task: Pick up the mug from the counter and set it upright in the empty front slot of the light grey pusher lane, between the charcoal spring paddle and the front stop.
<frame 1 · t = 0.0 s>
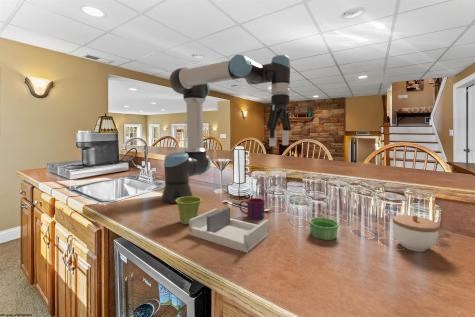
hand: (279, 145, 99), 28 cm above the counter, tool pointing down, fingers open, 13 cm apart
plant pot: (189, 222, 87), on the counter
lidded jar: (412, 247, 68), on the counter
pusher lane: (228, 234, 76), on the counter
spring paddle: (219, 220, 78), point 4 cm above the counter, slide at 0.0 cm
ramekin: (323, 235, 76), on the counter
mug: (252, 217, 93), on the counter
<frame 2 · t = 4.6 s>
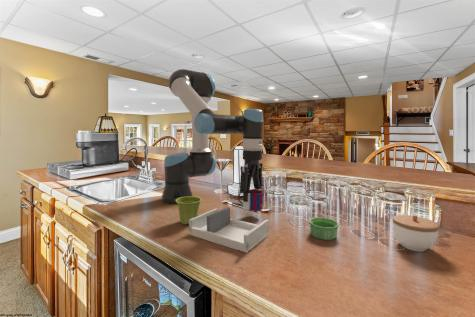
hand: (251, 206, 93), 4 cm above the counter, tool pointing down, fingers closed on mug, 7 cm apart
mug: (250, 208, 93), point 3 cm above the counter, touching gripper
everything else where it was.
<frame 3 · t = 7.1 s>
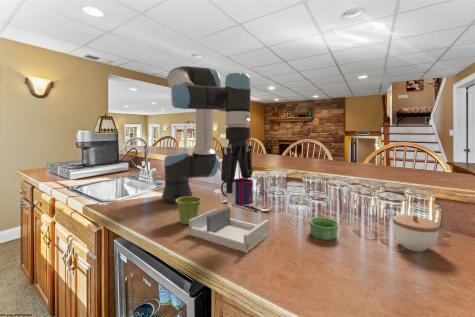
hand: (237, 200, 73), 12 cm above the counter, tool pointing down, fingers closed on mug, 7 cm apart
mug: (236, 202, 72), point 12 cm above the counter, touching gripper
everything else where it was.
when the fingers open (2 cm above the counter, at t = 9.5 s): mug drops 1 cm, resting on pusher lane.
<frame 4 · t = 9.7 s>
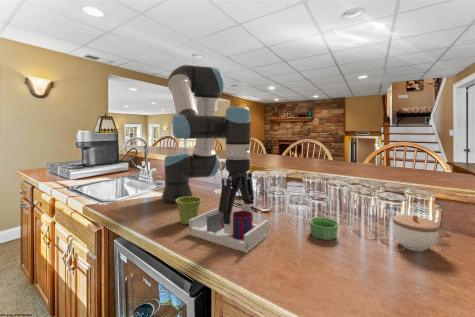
hand: (237, 227, 74), 3 cm above the counter, tool pointing down, fingers open, 9 cm apart
mug: (237, 235, 74), point 1 cm above the counter, touching pusher lane
everything else where it was.
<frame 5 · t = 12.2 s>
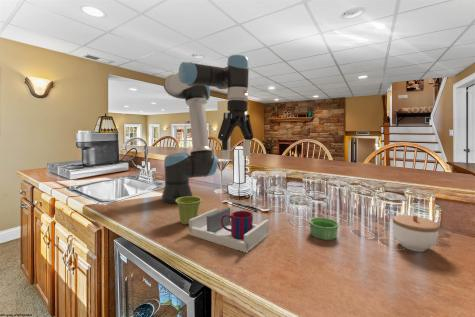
hand: (236, 157, 88), 24 cm above the counter, tool pointing down, fingers open, 13 cm apart
nothing on the counter moved.
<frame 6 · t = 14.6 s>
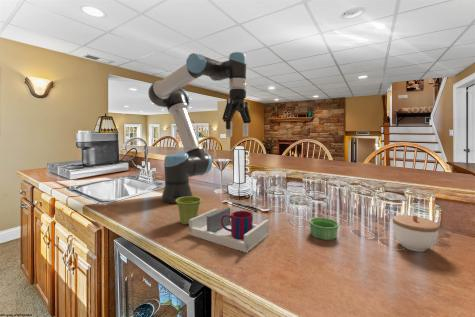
hand: (237, 136, 106), 32 cm above the counter, tool pointing down, fingers open, 13 cm apart
nothing on the counter moved.
at the end: mug inside the target area on the pusher lane (0.3 cm from its centre), point 0.8 cm above the pusher lane's base; mug tilted 0°; the gripper is holding nothing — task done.
